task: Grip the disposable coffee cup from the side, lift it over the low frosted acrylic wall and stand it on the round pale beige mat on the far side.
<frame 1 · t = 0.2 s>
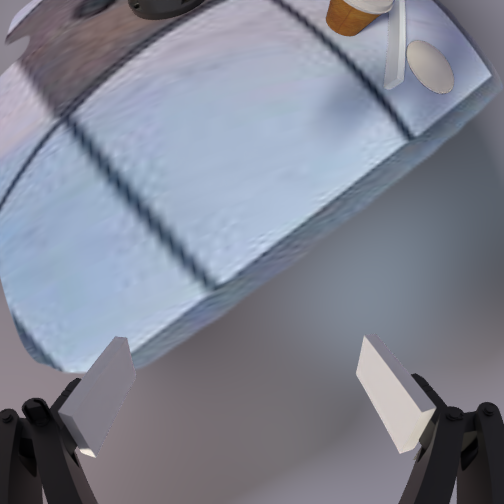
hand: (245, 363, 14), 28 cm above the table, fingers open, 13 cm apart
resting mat: (430, 66, 35), on the table
disposable coffee cup: (342, 24, 34), on the table
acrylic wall: (390, 43, 34), on the table
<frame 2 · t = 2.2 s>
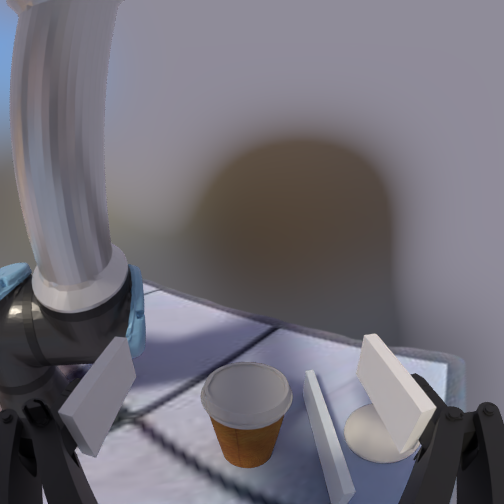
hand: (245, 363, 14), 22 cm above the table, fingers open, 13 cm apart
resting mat: (384, 431, 29), on the table
disposable coffee cup: (247, 450, 29), on the table
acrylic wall: (320, 444, 29), on the table
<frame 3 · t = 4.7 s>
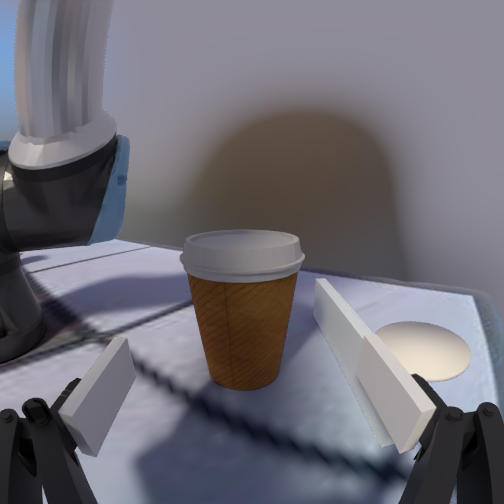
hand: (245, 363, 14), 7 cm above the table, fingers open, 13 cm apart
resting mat: (422, 349, 24), on the table
disposable coffee cup: (244, 370, 24), on the table
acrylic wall: (344, 362, 24), on the table
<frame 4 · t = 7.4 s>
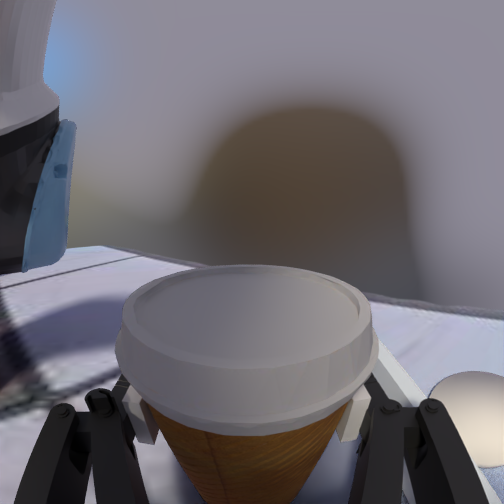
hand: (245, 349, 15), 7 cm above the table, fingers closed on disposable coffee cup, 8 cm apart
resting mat: (485, 414, 13), on the table
disposable coffee cup: (248, 478, 12), on the table, touching gripper
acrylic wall: (394, 454, 12), on the table
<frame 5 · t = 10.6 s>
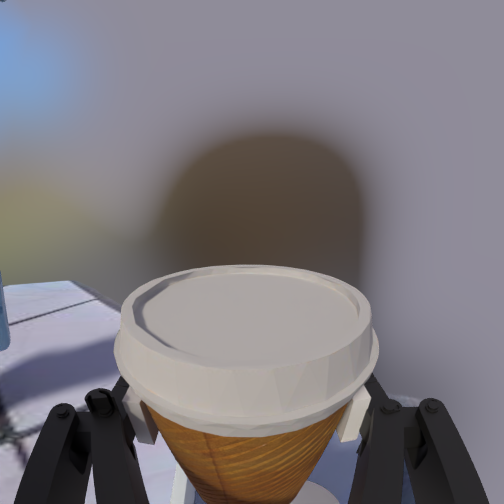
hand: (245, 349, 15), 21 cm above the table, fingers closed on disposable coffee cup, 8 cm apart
disposable coffee cup: (248, 479, 12), point 14 cm above the table, touching gripper
when the fingers open (9 cm above the table, at t = 14.2 s): disposable coffee cup drops 1 cm, resting on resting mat.
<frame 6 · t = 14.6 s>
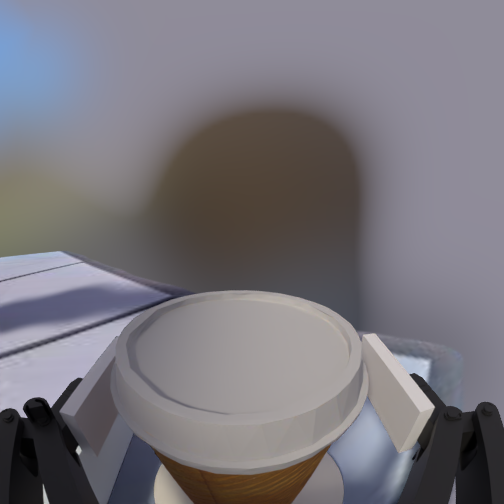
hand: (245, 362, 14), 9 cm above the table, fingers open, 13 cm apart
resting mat: (248, 488, 13), on the table
disposable coffee cup: (242, 490, 12), resting on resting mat
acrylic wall: (110, 471, 12), on the table
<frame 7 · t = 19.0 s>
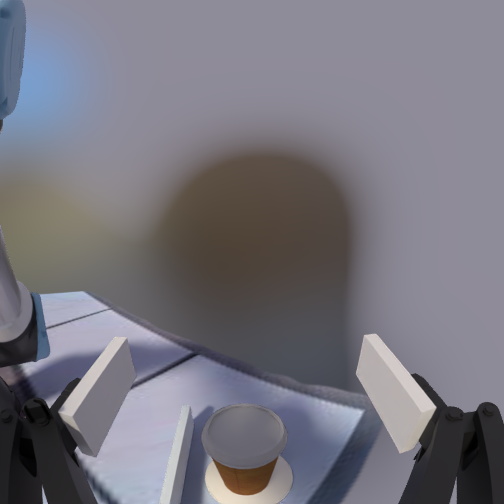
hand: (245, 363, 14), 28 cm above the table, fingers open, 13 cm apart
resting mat: (249, 478, 28), on the table
disposable coffee cup: (246, 479, 28), resting on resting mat
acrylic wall: (181, 474, 28), on the table
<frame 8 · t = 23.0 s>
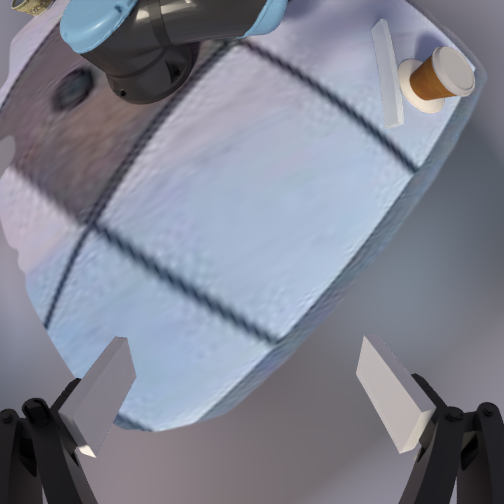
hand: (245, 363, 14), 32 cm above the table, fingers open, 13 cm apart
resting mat: (421, 85, 39), on the table
ceramic cup: (49, 3, 30), on the table
disposable coffee cup: (421, 86, 39), resting on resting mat
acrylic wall: (381, 74, 39), on the table
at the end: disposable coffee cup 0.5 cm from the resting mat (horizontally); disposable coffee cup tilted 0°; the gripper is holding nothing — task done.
